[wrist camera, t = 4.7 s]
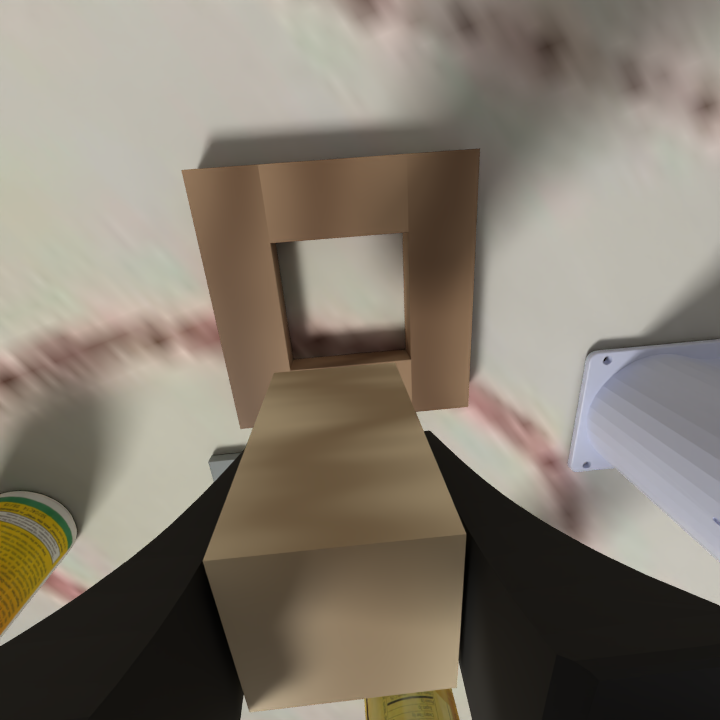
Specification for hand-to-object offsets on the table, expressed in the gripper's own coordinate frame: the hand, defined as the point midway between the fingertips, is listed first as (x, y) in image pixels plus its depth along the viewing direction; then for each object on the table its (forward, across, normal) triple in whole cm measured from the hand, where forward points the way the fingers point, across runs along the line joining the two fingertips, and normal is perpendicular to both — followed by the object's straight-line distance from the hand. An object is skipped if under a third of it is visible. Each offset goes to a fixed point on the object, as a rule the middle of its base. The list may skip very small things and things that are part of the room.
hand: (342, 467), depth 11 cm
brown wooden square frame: (+9, -1, -3) cm, 10 cm away
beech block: (+2, 0, 0) cm, 2 cm away
